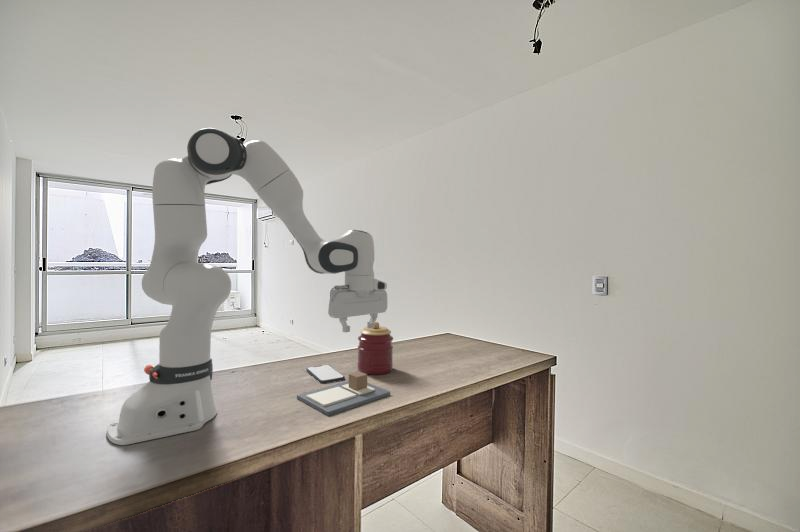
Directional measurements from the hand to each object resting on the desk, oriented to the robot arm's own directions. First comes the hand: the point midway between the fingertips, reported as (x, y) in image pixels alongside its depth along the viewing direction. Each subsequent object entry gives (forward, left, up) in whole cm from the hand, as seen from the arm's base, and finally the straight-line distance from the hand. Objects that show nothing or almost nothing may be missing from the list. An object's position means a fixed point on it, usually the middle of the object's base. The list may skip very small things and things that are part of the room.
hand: (358, 329), depth 112 cm
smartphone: (+2, +21, -20) cm, 29 cm away
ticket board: (-5, 0, -19) cm, 20 cm away
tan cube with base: (0, 0, -18) cm, 18 cm away
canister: (+19, +14, -19) cm, 30 cm away
